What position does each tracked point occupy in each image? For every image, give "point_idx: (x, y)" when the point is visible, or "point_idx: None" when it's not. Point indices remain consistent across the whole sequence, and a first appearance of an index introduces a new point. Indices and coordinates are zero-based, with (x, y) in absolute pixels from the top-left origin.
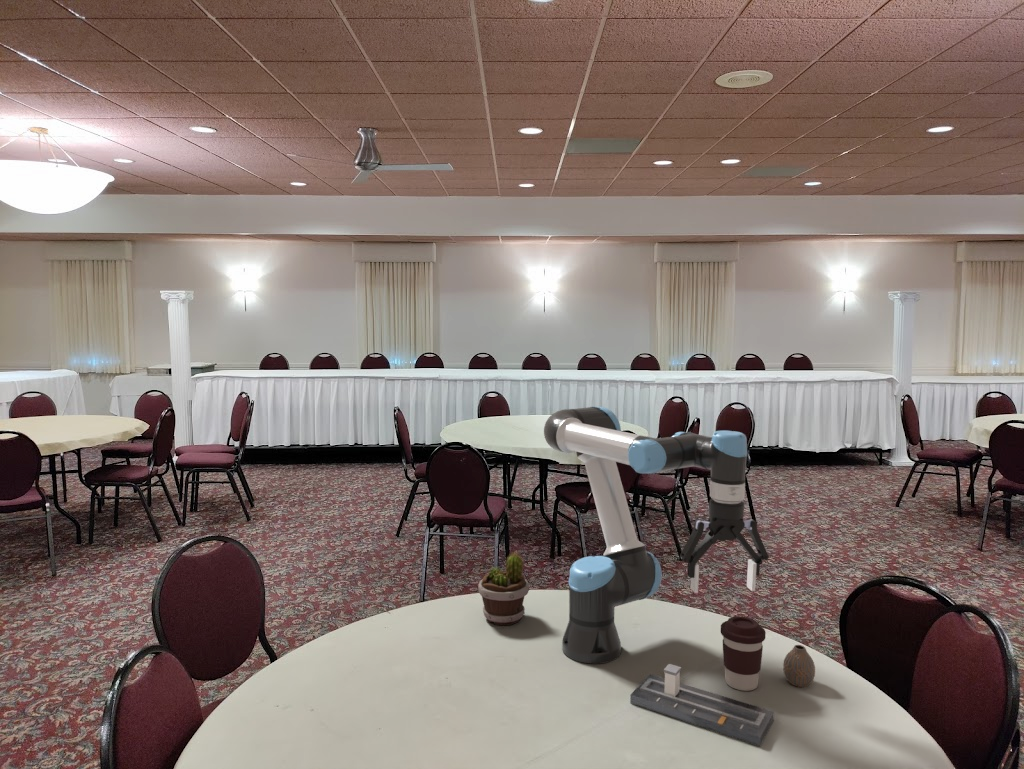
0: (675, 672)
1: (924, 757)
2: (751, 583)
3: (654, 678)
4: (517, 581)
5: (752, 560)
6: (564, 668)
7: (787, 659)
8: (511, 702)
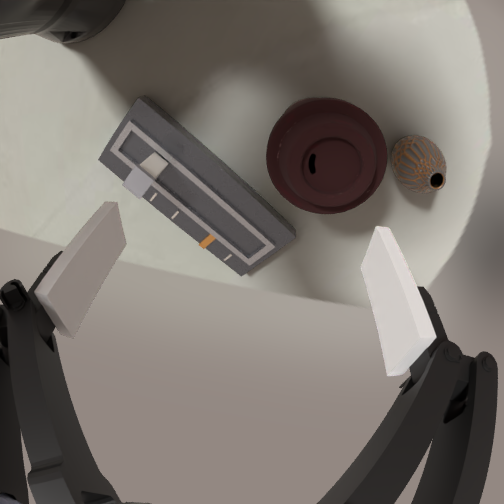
0: (139, 197)
1: None
2: (369, 283)
3: (141, 113)
4: None
5: (426, 349)
6: (41, 61)
7: (406, 164)
8: (2, 148)
